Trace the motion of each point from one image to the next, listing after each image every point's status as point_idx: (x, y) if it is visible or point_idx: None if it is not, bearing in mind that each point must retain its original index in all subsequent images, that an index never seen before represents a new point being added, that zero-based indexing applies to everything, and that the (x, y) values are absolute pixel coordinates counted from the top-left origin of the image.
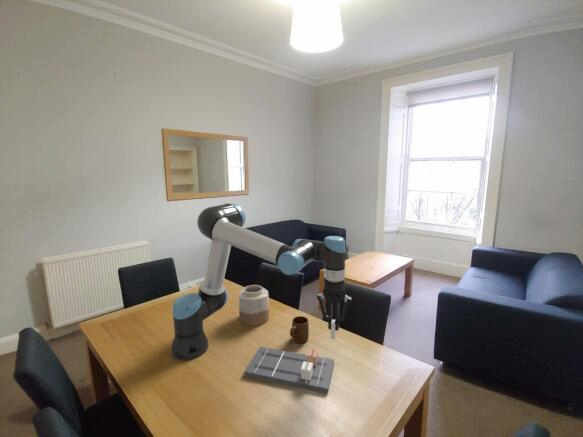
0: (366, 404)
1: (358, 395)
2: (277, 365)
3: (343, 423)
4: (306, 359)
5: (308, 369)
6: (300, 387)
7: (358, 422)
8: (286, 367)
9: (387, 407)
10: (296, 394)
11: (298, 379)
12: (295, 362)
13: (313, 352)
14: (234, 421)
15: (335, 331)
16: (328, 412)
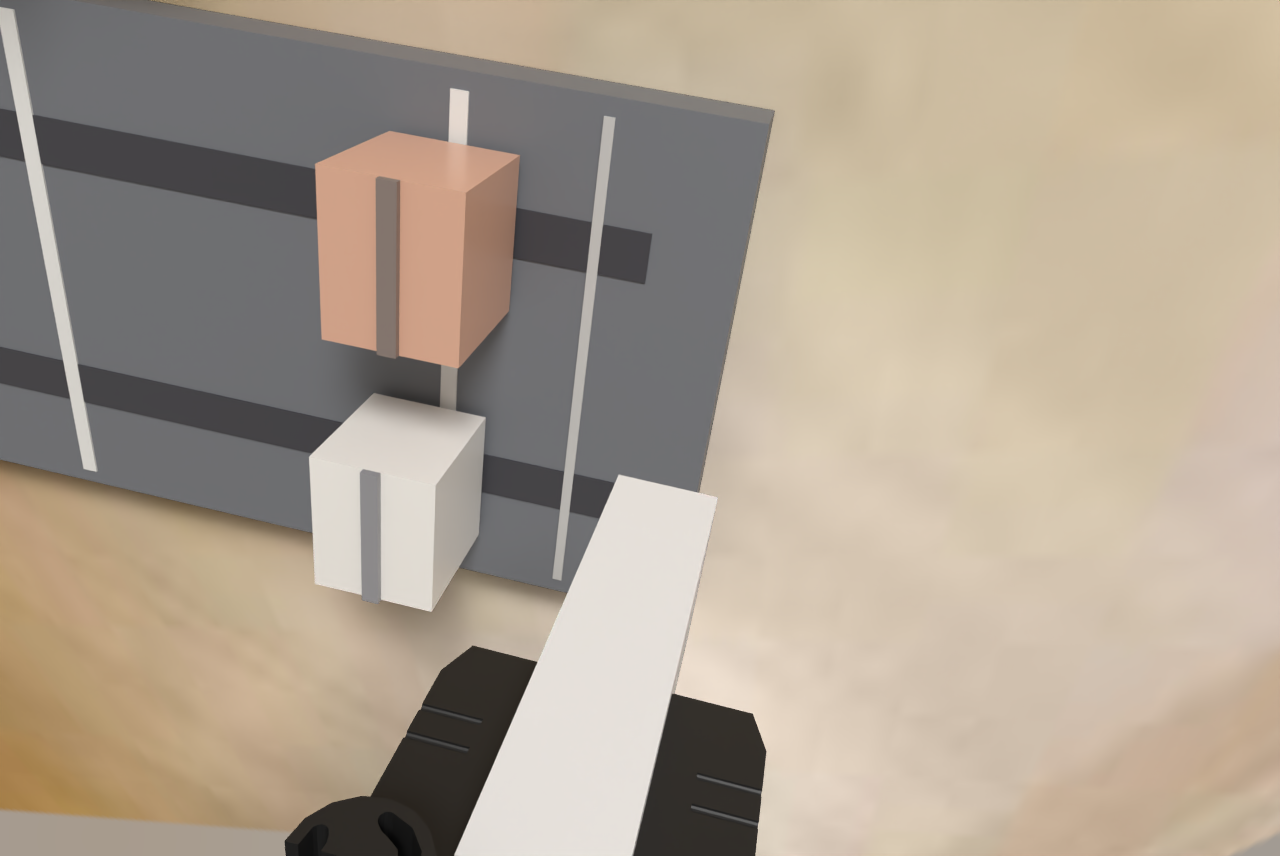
0: (1055, 692)
1: (1002, 601)
2: (64, 312)
3: (801, 824)
4: None
5: (404, 591)
6: None
7: (926, 826)
8: (172, 338)
9: (1269, 727)
10: None
11: None
12: (239, 240)
13: (398, 264)
14: (79, 767)
15: (674, 689)
16: None
